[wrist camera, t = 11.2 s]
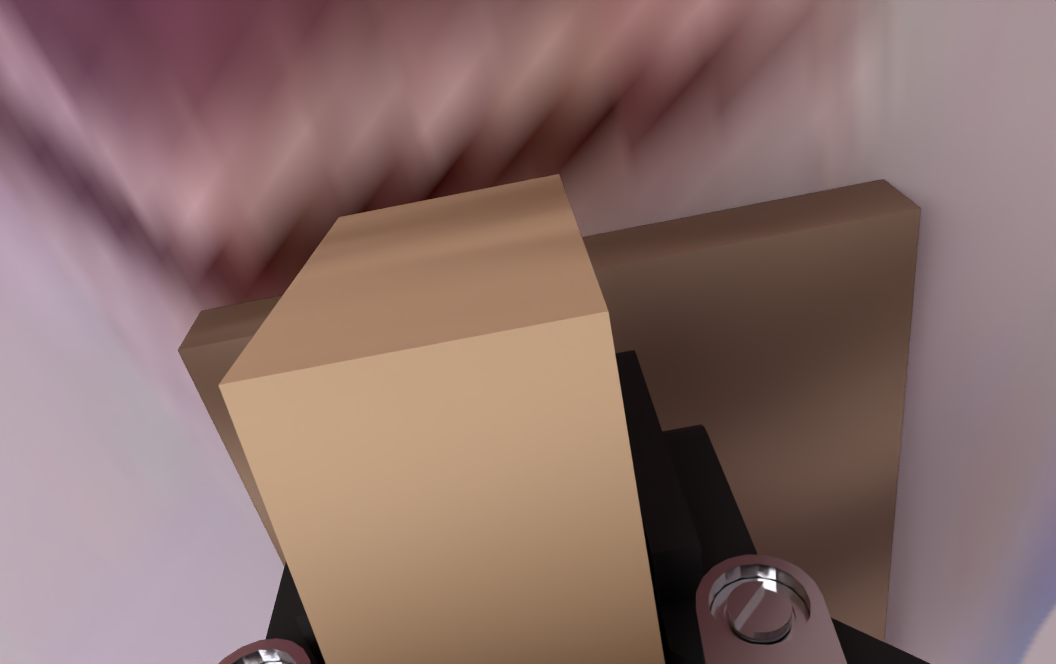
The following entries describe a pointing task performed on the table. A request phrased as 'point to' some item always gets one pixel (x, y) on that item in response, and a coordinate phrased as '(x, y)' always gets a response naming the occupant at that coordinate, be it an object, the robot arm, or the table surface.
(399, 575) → the tan block
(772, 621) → the robot arm
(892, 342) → the walnut board
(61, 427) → the table surface
